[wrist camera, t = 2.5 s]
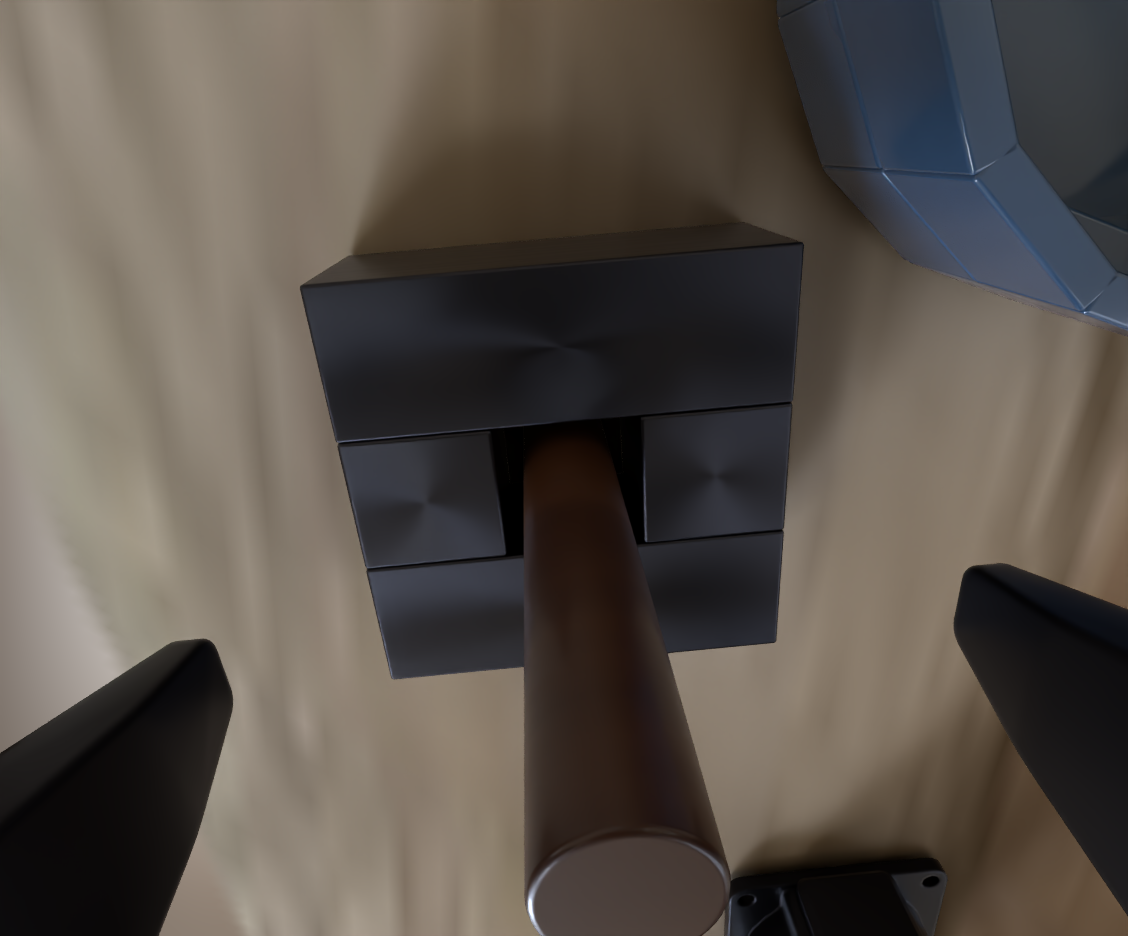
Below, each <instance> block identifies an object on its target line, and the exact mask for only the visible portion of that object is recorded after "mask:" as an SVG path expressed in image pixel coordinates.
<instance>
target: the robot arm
mask: <svg viewBox="0 0 1128 936" xmlns="http://www.w3.org/2000/svg"><path fill="white" fill-rule="evenodd" d="M954 633H955V637H956V640H957V642H958V644H959V646H960V648H961V650H962V652H963V654H964V655H965V657H966V659H967V661H968V663H969V665H970V666H971V668H972V670H973V672H974V674H975V676H976V677H977V679H978V681H979V683H980V685H981V687H982V689H983V690H984V692H985V694H986V696H987V698H988V700H989V701H990V703H991V705H992V707H993V709H994V711H995V712H996V714H997V716H998V718H999V720H1000V722H1001V724H1002V725H1003V727H1004V729H1005V731H1006V733H1007V735H1008V736H1009V738H1010V740H1011V742H1012V743H1013V745H1014V747H1015V748H1016V750H1017V752H1018V754H1019V755H1020V757H1021V758H1022V760H1023V761H1024V763H1025V765H1026V766H1027V768H1028V769H1029V771H1030V772H1031V774H1032V775H1033V777H1034V778H1035V780H1036V781H1037V783H1038V784H1039V786H1040V787H1041V789H1042V790H1043V792H1044V793H1045V795H1046V796H1047V798H1048V799H1049V801H1050V802H1051V804H1052V805H1053V806H1054V808H1055V809H1056V811H1057V812H1058V814H1059V815H1060V817H1061V818H1062V820H1063V821H1064V823H1065V824H1066V826H1067V827H1068V829H1069V830H1070V832H1071V833H1072V835H1073V836H1074V837H1075V839H1076V840H1077V842H1078V843H1079V845H1080V846H1081V848H1082V849H1083V851H1084V852H1085V854H1086V855H1087V857H1088V858H1089V860H1090V861H1091V863H1092V864H1093V865H1094V867H1095V868H1096V870H1097V871H1098V873H1099V874H1100V876H1101V877H1102V879H1103V880H1104V882H1105V883H1106V885H1107V886H1108V888H1109V889H1110V891H1111V892H1112V894H1113V895H1114V896H1115V898H1116V899H1117V901H1118V902H1119V904H1120V905H1121V907H1122V908H1123V910H1124V911H1125V913H1126V914H1127V916H1128V609H1125V608H1123V607H1120V606H1118V605H1115V604H1112V603H1110V602H1107V601H1104V600H1102V599H1099V598H1096V597H1094V596H1091V595H1088V594H1086V593H1083V592H1080V591H1078V590H1075V589H1072V588H1070V587H1067V586H1064V585H1062V584H1059V583H1056V582H1054V581H1051V580H1048V579H1046V578H1043V577H1041V576H1038V575H1035V574H1033V573H1030V572H1027V571H1025V570H1022V569H1019V568H1017V567H1014V566H1011V565H1008V564H1003V563H997V564H987V565H976V566H972V567H970V568H968V569H967V570H966V571H965V573H964V575H963V578H962V582H961V587H960V592H959V597H958V602H957V607H956V612H955V617H954ZM232 709H233V695H232V690H231V687H230V684H229V682H228V679H227V676H226V673H225V671H224V668H223V665H222V663H221V660H220V657H219V654H218V652H217V649H216V647H215V645H214V644H213V643H212V642H211V641H210V640H207V639H195V640H184V641H175V642H172V643H170V644H168V645H166V646H165V647H163V648H162V649H160V650H159V651H157V652H156V653H154V654H153V655H151V656H149V657H148V658H146V659H145V660H143V661H142V662H140V663H139V664H137V665H136V666H134V667H132V668H131V669H129V670H128V671H126V672H125V673H123V674H122V675H120V676H119V677H117V678H115V679H114V680H112V681H111V682H109V683H108V684H106V685H105V686H103V687H102V688H100V689H99V690H97V691H95V692H94V693H92V694H91V695H89V696H88V697H86V698H85V699H83V700H82V701H80V702H78V703H77V704H75V705H74V706H72V707H71V708H69V709H68V710H66V711H65V712H63V713H61V714H60V715H58V716H57V717H56V718H54V719H52V720H51V721H49V722H48V723H46V724H44V725H43V726H41V727H40V728H38V729H37V730H35V731H34V732H32V733H31V734H29V735H27V736H26V737H24V738H23V739H21V740H20V741H18V742H17V743H15V744H14V745H12V746H11V747H9V748H8V749H6V750H4V751H3V752H1V753H0V936H159V933H160V931H161V928H162V926H163V923H164V921H165V918H166V916H167V913H168V910H169V908H170V905H171V903H172V900H173V898H174V895H175V893H176V890H177V888H178V885H179V882H180V880H181V877H182V875H183V872H184V870H185V867H186V865H187V862H188V859H189V857H190V854H191V851H192V849H193V846H194V843H195V840H196V838H197V835H198V831H199V828H200V825H201V822H202V818H203V815H204V812H205V808H206V804H207V801H208V797H209V793H210V790H211V786H212V783H213V779H214V775H215V772H216V768H217V765H218V761H219V757H220V754H221V750H222V747H223V743H224V739H225V736H226V732H227V729H228V725H229V721H230V718H231V714H232ZM947 880H948V879H947V874H946V873H945V871H944V869H943V868H942V866H941V864H940V863H939V861H938V860H936V859H933V858H920V859H910V860H900V861H891V862H881V863H871V864H861V865H851V866H842V867H832V868H822V869H812V870H802V871H792V872H783V873H773V874H763V875H753V876H743V877H739V878H736V879H734V880H732V881H731V886H730V893H729V899H728V902H727V905H726V908H725V928H724V936H934V933H935V929H936V925H937V921H938V917H939V912H940V908H941V904H942V900H943V896H944V892H945V888H946V884H947Z"/></svg>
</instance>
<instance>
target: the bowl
mask: <svg viewBox="0 0 1128 936" xmlns="http://www.w3.org/2000/svg"><path fill="white" fill-rule="evenodd" d="M777 15H778V17H780V19H779V20H778V27H779V30H780V33H781V37H782V40H783V43H784V46H785V49H786V53H787V56H788V59H789V62H790V66H791V69H792V72H793V75H794V79H795V82H796V85H797V88H798V91H799V95H800V98H801V101H802V104H803V108H804V111H805V114H806V117H807V120H808V124H809V127H810V130H811V133H812V137H813V140H814V143H815V146H816V150H817V153H818V156H819V159H820V162H821V164H822V165H823V170H824V171H825V172H826V173H827V175H828V176H829V177H830V178H831V179H832V180H833V181H834V182H835V183H836V185H837V186H838V187H839V188H840V189H841V190H842V191H843V192H844V193H845V195H846V196H847V197H848V198H849V199H850V200H851V201H852V202H853V203H854V204H855V206H856V207H857V208H858V209H859V210H860V211H861V212H862V213H863V214H864V216H865V217H866V218H867V219H868V220H869V221H870V222H871V223H872V224H873V226H874V227H875V228H876V229H877V230H878V231H879V232H880V233H881V234H882V235H883V237H884V238H885V239H886V240H887V241H888V242H889V243H890V244H891V245H892V247H893V248H894V249H895V250H896V251H897V252H898V253H899V254H900V255H901V257H902V258H903V259H905V260H908V261H909V262H910V263H912V264H915V265H918V266H920V267H923V268H926V269H928V270H931V271H934V272H937V273H939V274H942V275H945V276H948V277H950V278H953V279H956V280H959V281H961V282H964V283H967V284H969V285H972V286H975V287H978V288H980V289H983V290H986V291H989V292H991V293H994V294H997V295H1000V296H1002V297H1005V298H1008V299H1010V300H1013V301H1016V302H1020V303H1023V304H1026V305H1029V306H1032V307H1036V308H1039V309H1042V310H1045V311H1048V312H1051V313H1055V314H1058V315H1061V316H1064V317H1067V318H1071V319H1074V320H1077V321H1080V322H1083V323H1086V324H1090V325H1093V326H1097V327H1099V328H1102V329H1105V330H1108V331H1112V332H1115V333H1118V334H1121V335H1124V336H1128V0H777Z"/></svg>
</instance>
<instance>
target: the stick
mask: <svg viewBox="0 0 1128 936" xmlns="http://www.w3.org/2000/svg"><path fill="white" fill-rule="evenodd" d="M523 438H524V851H525V906H526V909H527V913H528V915H529V917H530V920H531V922H532V924H533V926H534V927H535V929H536V930H537V932H538V933H539V934H540V935H541V936H702V935H703V934H705V933H706V932H707V931H708V930H709V929H710V928H711V927H712V926H713V925H714V924H715V923H716V922H717V921H718V919H719V918H720V917H721V915H722V913H723V911H724V910H725V908H726V905H727V902H728V899H729V893H730V886H731V876H730V871H729V867H728V864H727V860H726V857H725V853H724V850H723V846H722V842H721V839H720V835H719V832H718V828H717V825H716V821H715V818H714V814H713V811H712V807H711V804H710V800H709V797H708V793H707V790H706V786H705V783H704V779H703V776H702V772H701V769H700V765H699V762H698V758H697V755H696V751H695V748H694V744H693V741H692V737H691V734H690V730H689V727H688V723H687V720H686V716H685V713H684V709H683V706H682V702H681V699H680V695H679V692H678V688H677V685H676V681H675V678H674V674H673V671H672V667H671V664H670V660H669V657H668V653H667V650H666V646H665V643H664V639H663V636H662V632H661V629H660V625H659V622H658V618H657V615H656V611H655V608H654V604H653V601H652V597H651V594H650V590H649V587H648V583H647V580H646V576H645V573H644V569H643V566H642V562H641V559H640V555H639V552H638V548H637V545H636V541H635V538H634V534H633V531H632V527H631V524H630V520H629V517H628V513H627V510H626V506H625V503H624V499H623V496H622V492H621V489H620V485H619V482H618V478H617V475H616V471H615V468H614V464H613V461H612V457H611V454H610V450H609V447H608V443H607V440H606V436H605V432H604V429H603V425H602V422H601V419H597V420H586V421H575V422H564V423H552V424H541V425H530V426H523Z"/></svg>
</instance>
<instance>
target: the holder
mask: <svg viewBox="0 0 1128 936" xmlns="http://www.w3.org/2000/svg"><path fill="white" fill-rule="evenodd" d="M803 251H804V244H803V242H800V241H797V240H794V239H791V238H788V237H785V236H783V235H780V234H777V233H774V232H771V231H768V230H765V229H762V228H759V227H756V226H753V225H751V224H748V223H745V222H738V223H727V224H715V225H703V226H692V227H680V228H668V229H657V230H645V231H633V232H622V233H610V234H598V235H586V236H575V237H563V238H551V239H540V240H528V241H516V242H505V243H493V244H481V245H469V246H458V247H446V248H434V249H423V250H411V251H399V252H388V253H376V254H364V255H352V256H347V257H346V258H344V259H342V260H341V261H339V262H338V263H336V264H334V265H333V266H331V267H330V268H328V269H327V270H325V271H323V272H322V273H320V274H319V275H317V276H315V277H314V278H312V279H311V280H309V281H307V282H306V283H304V284H303V285H301V286H300V291H301V295H302V299H303V304H304V308H305V312H306V317H307V321H308V325H309V329H310V334H311V338H312V342H313V346H314V351H315V355H316V359H317V363H318V368H319V372H320V376H321V381H322V385H323V389H324V393H325V398H326V402H327V406H328V410H329V415H330V419H331V423H332V427H333V432H334V436H335V440H336V442H338V446H337V447H338V451H339V456H340V460H341V464H342V469H343V473H344V477H345V481H346V486H347V490H348V494H349V498H350V503H351V507H352V511H353V515H354V520H355V524H356V528H357V533H358V537H359V541H360V545H361V550H362V554H363V558H364V562H365V566H366V567H367V571H366V572H367V576H368V580H369V585H370V589H371V593H372V598H373V602H374V606H375V610H376V615H377V619H378V623H379V627H380V632H381V636H382V640H383V644H384V649H385V653H386V657H387V662H388V666H389V670H390V674H391V678H392V679H403V678H413V677H424V676H434V675H444V674H455V673H465V672H476V671H486V670H496V669H507V668H517V667H524V482H516V483H510V474H509V466H508V458H507V450H506V441H505V433H504V428H508V427H519V426H530V425H541V424H552V423H564V422H575V421H586V420H597V419H608V418H619V417H620V430H621V453H622V471H623V473H616V475H617V478H618V482H619V485H620V489H621V492H622V496H623V499H624V503H625V506H626V510H627V513H628V517H629V520H630V524H631V527H632V531H633V534H634V538H635V541H636V545H637V548H638V552H639V555H640V559H641V562H642V566H643V569H644V573H645V576H646V580H647V583H648V587H649V590H650V594H651V597H652V601H653V604H654V608H655V611H656V615H657V618H658V622H659V625H660V629H661V632H662V636H663V639H664V643H665V646H666V650H667V653H673V652H684V651H694V650H705V649H715V648H725V647H736V646H746V645H757V644H767V643H774V642H776V636H777V622H778V607H779V593H780V579H781V564H782V550H783V536H784V532H783V530H782V529H783V528H784V519H785V505H786V490H787V476H788V462H789V447H790V433H791V419H792V403H791V402H792V401H793V394H794V380H795V366H796V351H797V337H798V323H799V308H800V294H801V280H802V265H803Z"/></svg>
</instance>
